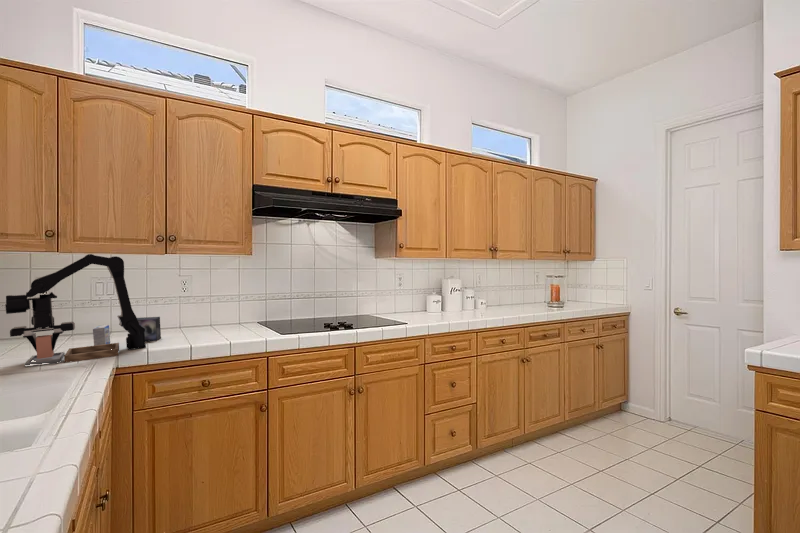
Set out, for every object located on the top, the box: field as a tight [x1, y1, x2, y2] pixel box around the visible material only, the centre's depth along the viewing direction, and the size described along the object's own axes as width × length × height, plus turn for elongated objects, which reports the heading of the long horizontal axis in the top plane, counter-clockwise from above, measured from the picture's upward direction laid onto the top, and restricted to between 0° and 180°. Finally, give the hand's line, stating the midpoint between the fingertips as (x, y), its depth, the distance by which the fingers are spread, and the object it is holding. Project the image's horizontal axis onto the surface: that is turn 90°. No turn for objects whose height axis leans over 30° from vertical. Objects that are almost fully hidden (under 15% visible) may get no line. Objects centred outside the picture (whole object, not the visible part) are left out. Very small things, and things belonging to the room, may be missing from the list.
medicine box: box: [92, 324, 111, 346], centre depth 190 cm, size 8×4×9 cm, turn 22°
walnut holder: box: [63, 342, 120, 363], centre depth 173 cm, size 17×15×2 cm
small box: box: [137, 316, 162, 343], centre depth 199 cm, size 11×6×10 cm, turn 101°
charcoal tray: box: [24, 351, 66, 366], centre depth 165 cm, size 10×14×2 cm
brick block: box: [36, 334, 55, 359], centre depth 165 cm, size 4×4×8 cm
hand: (45, 351), depth 165 cm, fingers closed on brick block, 4 cm apart
